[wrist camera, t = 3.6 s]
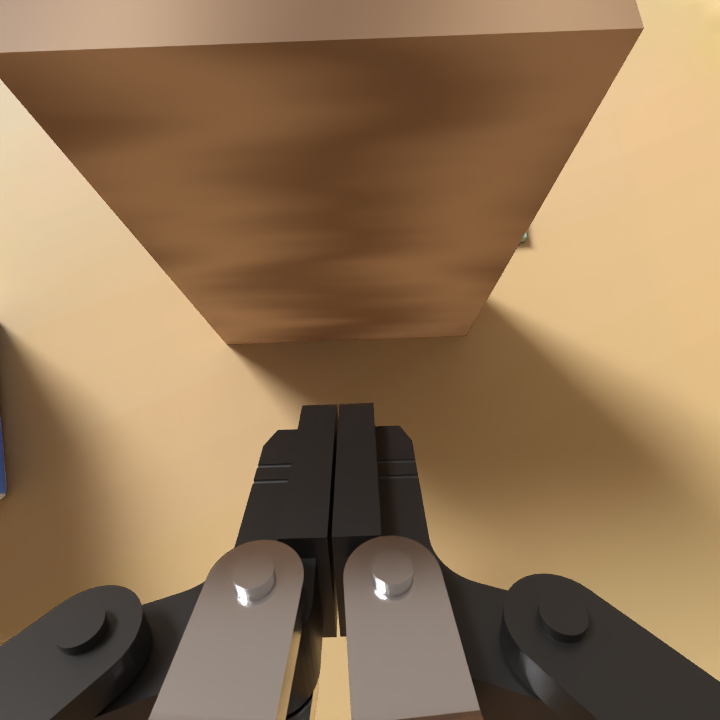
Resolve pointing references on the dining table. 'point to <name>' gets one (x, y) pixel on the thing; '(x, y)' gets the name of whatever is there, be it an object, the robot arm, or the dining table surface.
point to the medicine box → (2, 467)
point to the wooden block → (320, 143)
